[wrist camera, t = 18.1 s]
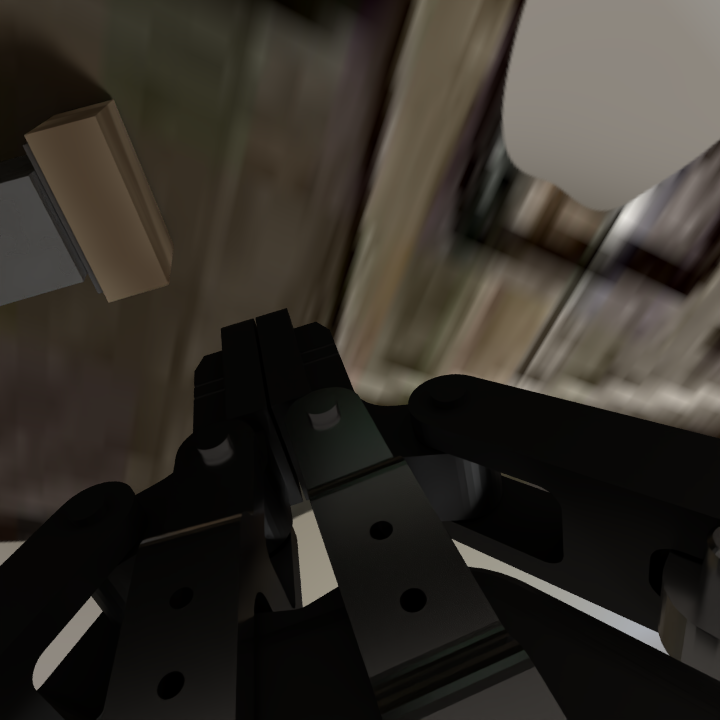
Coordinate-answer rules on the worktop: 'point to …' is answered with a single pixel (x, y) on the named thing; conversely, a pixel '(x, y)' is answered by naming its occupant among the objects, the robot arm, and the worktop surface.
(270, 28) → the worktop surface
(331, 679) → the robot arm
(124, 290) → the block
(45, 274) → the block
